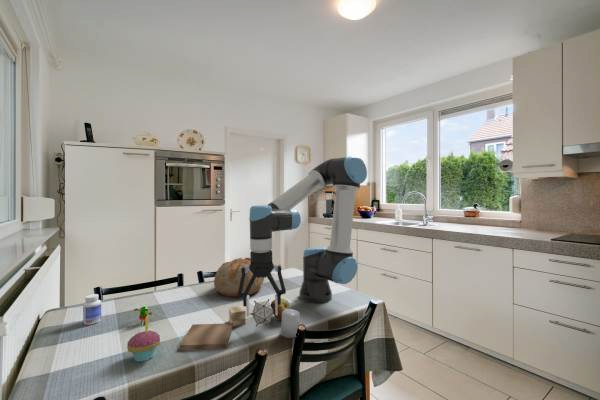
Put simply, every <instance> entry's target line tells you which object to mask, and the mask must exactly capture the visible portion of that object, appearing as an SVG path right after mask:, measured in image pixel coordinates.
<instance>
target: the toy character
mask: <svg viewBox="0 0 600 400" xmlns="http://www.w3.org/2000/svg"><path fill="white" fill-rule="evenodd" d="M133 311H134V312H137V311H138V312H139V316H138V319H139V321H141V322H140V323H139V325H142V326H145V325H146V316H147V313H148V316H149V315H151V316H153V315H154V312H152V311H151V312H149V308H148V307H147V306H142V307H140V309H139V308H133Z"/></svg>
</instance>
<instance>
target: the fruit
mask: <svg viewBox="0 0 600 400" xmlns="http://www.w3.org/2000/svg"><path fill="white" fill-rule="evenodd" d="M270 305H271V307H272V309H273V310H275V299H273V300H272V301H271V302H270ZM288 309H291V305H290V302H289V300H288V299H286V298H285V297H282V296H281V304H280V305H278V315H275V312H274V313H273V316H274V318H275V319H276V320H277V321H282V312H283V311H284V310H288Z"/></svg>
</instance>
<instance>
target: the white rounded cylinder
mask: <svg viewBox="0 0 600 400" xmlns="http://www.w3.org/2000/svg"><path fill="white" fill-rule="evenodd" d="M280 321H281V324H280V325H281V327H280V328H281V329H280V335H281V336H282V337H284V338H287V339H293V338H297V336H296V333H297V328H298V326H299V327H300V312H299V311H298V310H296V309H291V308H290V309H288V310H284V311H283V312H282V320H280Z"/></svg>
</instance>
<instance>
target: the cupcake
mask: <svg viewBox="0 0 600 400" xmlns="http://www.w3.org/2000/svg"><path fill="white" fill-rule="evenodd" d="M148 313H149V312H148ZM148 313H147V316H146V319H145V322H146V323H145V324H146V325H144V327H145V328H144V330H143V331H139V332H137V333H136V334H134V335H133V336H131V338H130V339H129V340H128V341H127V351H128V352H129V353H131V354H132V356H133V358H134V360H135V362H139V363H141V362H146V361H148V360H151V358H152V357H154V354H155V351H156V348H157V346H159V345H160V343H161V338H160V337H161V334H159V333H158V332H157V331H153V330H149V328H148V327H149V315H148Z"/></svg>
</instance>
